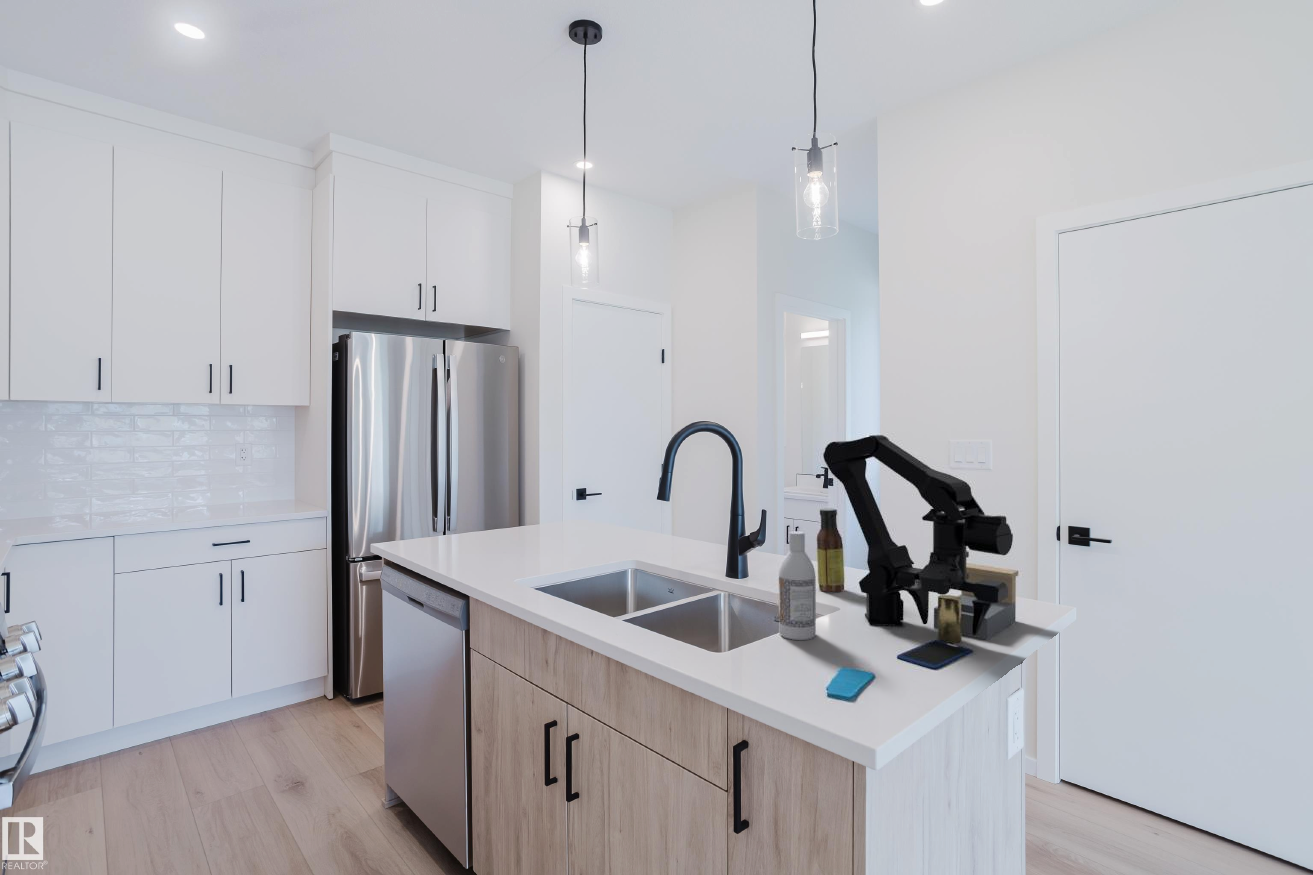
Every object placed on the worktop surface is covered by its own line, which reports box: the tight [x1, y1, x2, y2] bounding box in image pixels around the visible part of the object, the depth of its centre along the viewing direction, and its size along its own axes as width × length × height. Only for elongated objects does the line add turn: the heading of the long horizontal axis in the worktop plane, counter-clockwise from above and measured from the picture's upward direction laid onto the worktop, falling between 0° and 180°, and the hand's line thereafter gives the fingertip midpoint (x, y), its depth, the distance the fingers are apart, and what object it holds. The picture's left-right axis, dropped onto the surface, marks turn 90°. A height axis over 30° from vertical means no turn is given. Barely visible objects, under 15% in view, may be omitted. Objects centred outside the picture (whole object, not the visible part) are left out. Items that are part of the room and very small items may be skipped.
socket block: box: [933, 562, 1019, 641], centre depth 132 cm, size 16×11×10 cm
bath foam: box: [778, 530, 817, 641], centre depth 126 cm, size 7×7×20 cm
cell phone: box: [896, 639, 974, 671], centre depth 115 cm, size 7×14×1 cm, turn 129°
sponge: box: [826, 666, 875, 702], centre depth 103 cm, size 2×12×6 cm
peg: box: [937, 594, 962, 645], centre depth 123 cm, size 4×4×8 cm
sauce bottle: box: [816, 507, 845, 593], centre depth 159 cm, size 6×6×20 cm
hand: (949, 629), depth 123 cm, fingers open, 9 cm apart
